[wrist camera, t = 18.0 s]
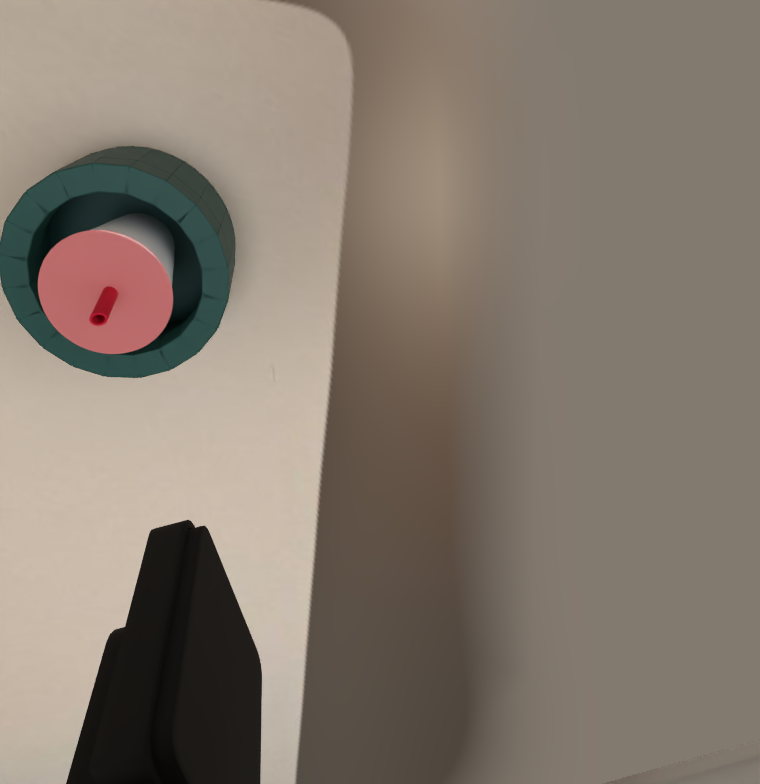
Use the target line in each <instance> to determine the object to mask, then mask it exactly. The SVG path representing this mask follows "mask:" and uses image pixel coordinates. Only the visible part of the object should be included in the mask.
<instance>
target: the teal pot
mask: <svg viewBox="0 0 760 784" xmlns="http://www.w3.org/2000/svg"><path fill="white" fill-rule="evenodd" d="M131 213H145V214H149V215H152V216H154V217H156V218H158V219H159V220H161V221H162V222H163V223H164V224H165V225H166V226H167V227H168V229H169V230H170V232H171V234H172V236H173V239H174V243H175V254H174V269H173V279H172V291H173V307H172V312H171V316H170V319H169V321H168V323H167V325H166V327H165V328H164V330H163V331H162V332H161V334H160V335H159V336H158V337H157V338H156V339H155V340H153V341H152V342H151V343H149V344H148V345H146V346H144V347H142V348H140V349H138V350H135V351H132V352H128V353H122V354H105V353H98V352H94V351H91V350H88V349H85V348H83V347H80V346H78V345H76V344H75V343H73V342H71V341H70V340H68V339H67V338H66V337H64V336H63V335H62V334H61V333H60V332H59V331H58V330H57V329H56V328H55V327H54V326H53V325H52V323H51V322H50V321H49V319H48V318H47V316H46V314H45V312H44V310H43V308H42V305H41V302H40V298H39V293H38V277H39V272H40V268H41V265H42V263H43V261H44V259H45V257H46V256H47V254H48V253H49V251H50V250H51V249H52V248H53V247H54V246H55V245H56V244H57V243H59V242H60V241H61V240H63V239H65V238H66V237H68V236H70V235H73V234H76V233H79V232H83V231H88V230H92V229H94V228H96V227H98V226H101V225H103V224H105V223H107V222H110V221H112V220H114V219H117V218H119V217H122V216H125V215H127V214H131ZM234 266H235V234H234V230H233V225H232V221H231V218H230V216H229V213H228V211H227V208H226V206H225V204H224V203H223V201H222V199H221V197H220V196H219V194H218V193H217V191H216V190H215V189H214V187H213V186H212V185H211V184H210V183H209V182H208V181H207V179H206V178H205V177H204V176H202V175H201V174H200V173H199V172H198V171H197V170H196V169H194V168H193V167H191V166H190V165H188V164H187V163H185V162H184V161H182V160H180V159H178V158H176V157H174V156H172V155H170V154H167V153H164V152H162V151H158V150H154V149H150V148H144V147H134V146H130V147H116V148H110V149H106V150H103V151H100V152H95V153H91V154H89V155H87V156H85V157H83V158H81V159H79V160H77V161H75V162H73V163H71V164H69V165H67V166H65V167H63V168H61V169H59V170H57V171H55V172H53V173H52V174H50V175H49V176H47V177H46V178H44V179H43V180H41V181H40V182H38V183H37V184H35V185H34V186H32V187H31V188H29V189H28V190H26V192H25V193H24V194H23V195H22V197H21V198H20V200H19V201H18V203H17V204H16V205H15V207H14V208H13V210H12V211H11V213H10V214H9V216H8V217H7V220H6V221H5V223H4V228H3V232H2V236H1V241H0V276H1V284H2V288H3V291H4V293H5V295H6V297H7V300H8V302H9V304H10V306H11V308H12V310H13V312H14V314H15V316H16V318H17V320H18V321H19V323H20V324H21V325H22V326H23V327H24V328H25V329H26V330H27V331H28V332H29V334H30V335H31V336H32V337H33V338H34V339H35V340H36V341H37V342H38V343H39V345H40V346H43V348H44V349H46V350H47V351H49V352H50V353H52V354H53V355H55V356H57V357H58V358H60V359H61V360H63V361H65V362H66V363H68V364H69V365H71V366H72V365H73V367H76V368H79V369H82V370H85V371H89V372H92V373H95V374H98V375H101V376H106V377H129V378H139V377H140V378H141V377H145V376H149V375H153V374H157V373H161V372H165V371H169V370H171V369H173V368H175V367H177V366H178V365H180V364H181V363H183V362H185V361H186V360H188V359H189V358H191V357H193V356H194V355H196V354H197V352H199V351H200V350H201V349H202V348H203V347H204V345H205V344H206V343H207V342H208V341H209V339H210V338H211V337H212V336H213V334H214V333H215V332H216V331H217V329H218V327H219V325H220V322H221V319H222V316H223V313H224V311H225V308H226V305H227V302H228V298H229V293H230V288H231V282H232V277H233V271H234Z"/></svg>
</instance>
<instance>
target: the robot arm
mask: <svg viewBox="0 0 760 784" xmlns="http://www.w3.org/2000/svg"><path fill="white" fill-rule="evenodd" d="M261 697H262V671H261V664H260V659H259V655H258V652H257V649H256V646H255V644H254V641H253V639H252V636H251V634H250V632H249V629H248V627H247V624H246V622H245V619H244V617H243V614H242V612H241V609H240V607H239V604H238V602H237V599H236V597H235V595H234V592H233V590H232V587H231V585H230V582H229V580H228V577H227V575H226V572H225V570H224V567H223V565H222V562H221V560H220V557H219V555H218V553H217V550H216V548H215V545H214V543H213V540H212V538H211V535H210V533H209V531H208V529H207V528H206V526H200V527H197V528H195V526H194V525H193V523H192V522H191V521H189V520H186V521H182V522H178V523H174V524H170V525H167V526H163V527H159V528H155V529H153V530H151V532H150V534H149V537H148V541H147V545H146V549H145V552H144V556H143V560H142V564H141V568H140V572H139V576H138V579H137V583H136V587H135V591H134V595H133V599H132V603H131V607H130V610H129V614H128V618H127V622H126V626H125V627H123V628H120V629H116V630H114V631H113V632H112V633H111V634H110V636H109V638H108V640H107V643H106V646H105V649H104V653H103V656H102V660H101V663H100V667H99V670H98V674H97V677H96V681H95V684H94V688H93V691H92V695H91V698H90V702H89V705H88V709H87V712H86V716H85V720H84V723H83V727H82V730H81V734H80V737H79V741H78V744H77V748H76V751H75V755H74V758H73V762H72V765H71V769H70V772H69V776H68V779H67V783H66V784H260V762H261ZM604 784H760V740H757V741H753V742H749V743H746V744H742V745H739V746H736V747H732V748H728V749H725V750H721V751H718V752H714V753H710V754H707V755H703V756H700V757H696V758H693V759H689V760H686V761H682V762H678V763H675V764H672V765H668V766H664V767H661V768H657V769H654V770H650V771H646V772H643V773H639V774H636V775H632V776H629V777H625V778H622V779H618V780H615V781H611V782H608V783H604Z"/></svg>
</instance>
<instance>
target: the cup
mask: <svg viewBox="0 0 760 784" xmlns="http://www.w3.org/2000/svg"><path fill="white" fill-rule="evenodd" d="M174 254H175V243H174V239H173V236H172V234H171V232H170V230H169V229H168V227H167V226H166V225H165V224H164V223H163V222H162V221H161V220H159V219H158V218H156V217H154V216H152V215H149V214H145V213H131V214H127V215H125V216H122V217H119V218H117V219H114V220H112V221H110V222H107V223H105V224H103V225H101V226H98V227H96V228H94V229H92V230H88V231H83V232H79V233H76V234H73V235H70V236H68V237H66V238H65V239H63V240H61V241H60V242H59V243H57V244H56V245H55V246H54V247H53V248H52V249H51V250H50V251H49V253H48V254H47V256H46V257H45V259H44V261H43V263H42V265H41V268H40V272H39V277H38V293H39V298H40V302H41V305H42V308H43V310H44V312H45V314H46V316H47V318H48V319H49V321H50V322H51V323H52V325H53V326H54V327H55V328H56V329H57V330H58V331H59V332H60V333H61V334H62V335H63V336H64V337H66V338H67V339H68V340H70V341H71V342H73V343H75V344H76V345H78V346H80V347H83V348H85V349H88V350H91V351H94V352H98V353H105V354H122V353H128V352H132V351H135V350H138V349H140V348H142V347H144V346H146V345H148V344H149V343H151V342H152V341H153V340H155V339H156V338H157V337H158V336H159V335H160V334H161V332H162V331H163V330H164V328H165V327H166V325H167V323H168V321H169V319H170V316H171V312H172V307H173V291H172V279H173V269H174Z"/></svg>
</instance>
